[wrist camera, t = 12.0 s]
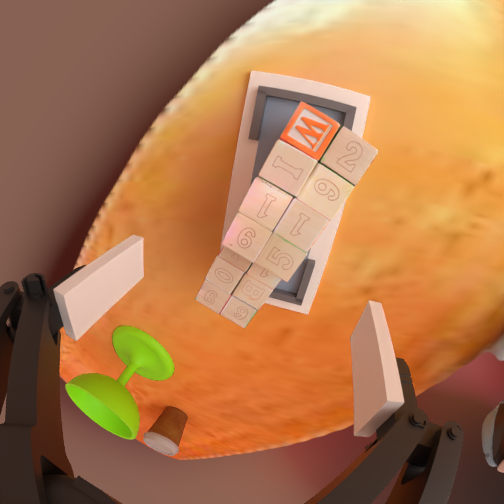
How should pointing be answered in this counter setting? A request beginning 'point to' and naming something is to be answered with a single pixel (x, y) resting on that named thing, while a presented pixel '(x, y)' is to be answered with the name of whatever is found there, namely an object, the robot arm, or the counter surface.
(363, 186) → the counter surface
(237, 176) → the blueprint board
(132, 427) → the wineglass
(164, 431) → the disposable coffee cup
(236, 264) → the stack of blocks
